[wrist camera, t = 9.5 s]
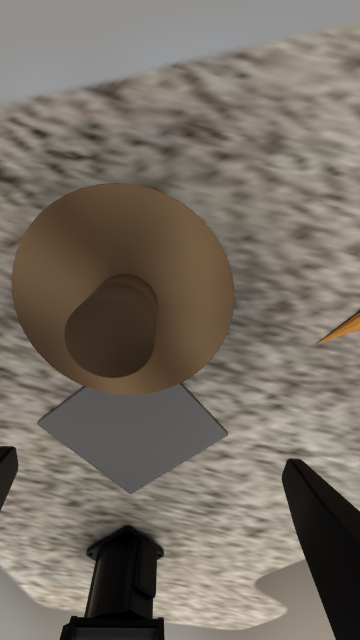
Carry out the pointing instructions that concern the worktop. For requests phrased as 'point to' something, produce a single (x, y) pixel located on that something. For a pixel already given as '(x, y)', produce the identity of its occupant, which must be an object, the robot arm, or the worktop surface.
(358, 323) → the carrot
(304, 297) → the worktop surface
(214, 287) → the lid
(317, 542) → the robot arm
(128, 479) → the mat
